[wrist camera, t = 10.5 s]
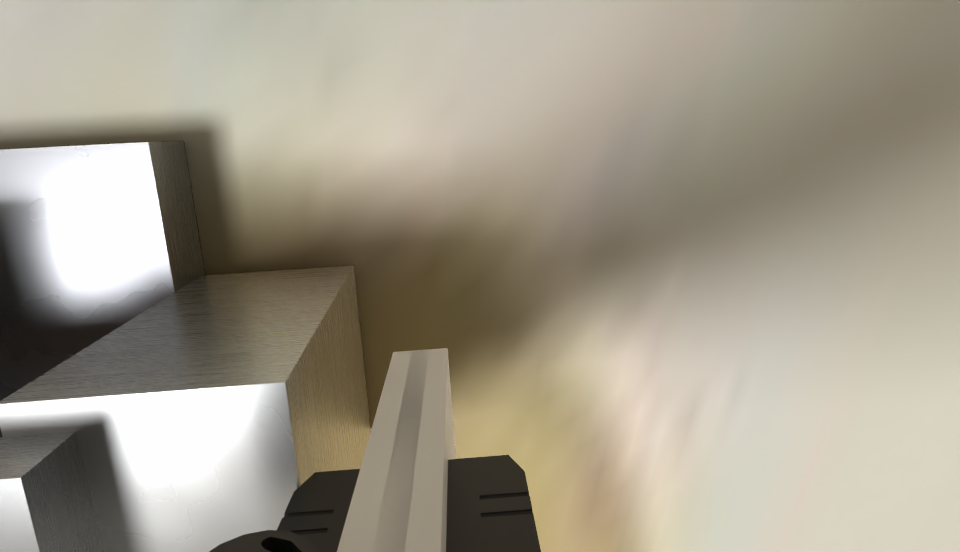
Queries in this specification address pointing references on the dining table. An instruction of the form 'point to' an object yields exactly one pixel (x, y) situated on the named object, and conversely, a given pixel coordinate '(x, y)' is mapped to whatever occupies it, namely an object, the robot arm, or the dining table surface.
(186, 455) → the block
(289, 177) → the dining table surface
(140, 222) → the heatsink
